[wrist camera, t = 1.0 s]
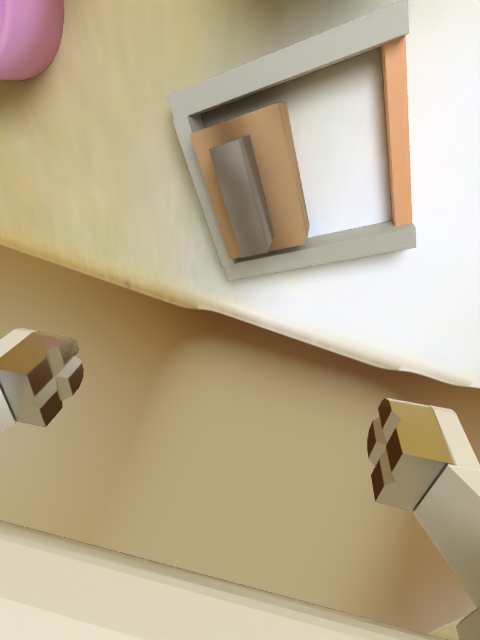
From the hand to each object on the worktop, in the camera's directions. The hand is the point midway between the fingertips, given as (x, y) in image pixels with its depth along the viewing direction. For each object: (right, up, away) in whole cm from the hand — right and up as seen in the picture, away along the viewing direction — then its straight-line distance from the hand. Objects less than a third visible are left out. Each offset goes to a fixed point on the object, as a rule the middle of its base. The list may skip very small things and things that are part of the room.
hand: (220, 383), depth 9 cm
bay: (+7, +17, +26) cm, 32 cm away
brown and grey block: (+3, +17, +27) cm, 32 cm away
